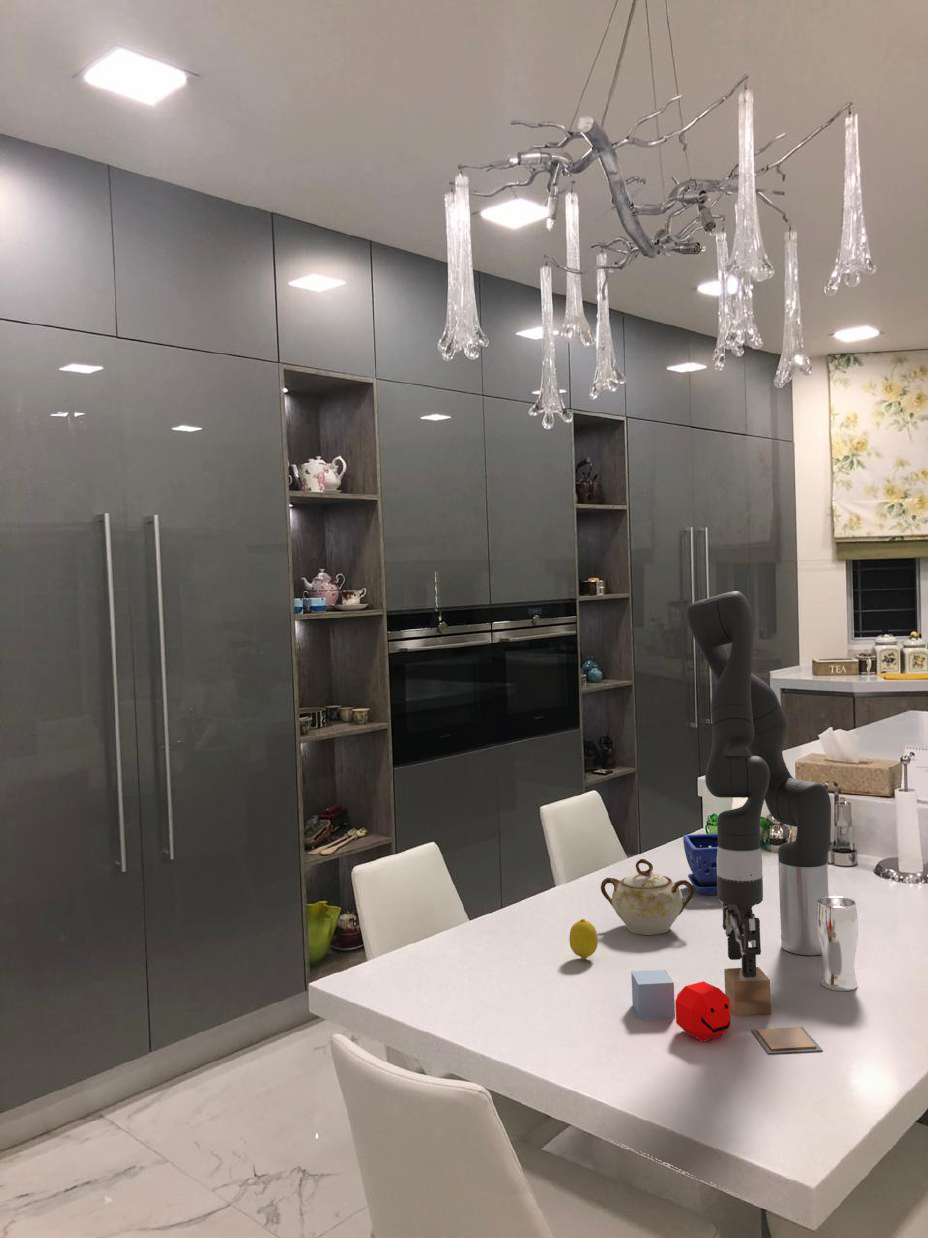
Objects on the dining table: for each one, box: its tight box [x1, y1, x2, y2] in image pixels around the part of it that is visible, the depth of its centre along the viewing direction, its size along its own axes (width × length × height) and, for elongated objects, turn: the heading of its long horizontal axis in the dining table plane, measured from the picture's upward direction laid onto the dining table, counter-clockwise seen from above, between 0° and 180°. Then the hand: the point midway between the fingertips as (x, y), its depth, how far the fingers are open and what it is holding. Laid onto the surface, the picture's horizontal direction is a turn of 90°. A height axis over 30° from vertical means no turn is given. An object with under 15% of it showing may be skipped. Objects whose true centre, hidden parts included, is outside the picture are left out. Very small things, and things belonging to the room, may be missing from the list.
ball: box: [674, 980, 732, 1043], centre depth 163 cm, size 8×8×8 cm
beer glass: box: [817, 895, 859, 992], centre depth 181 cm, size 7×7×15 cm
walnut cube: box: [723, 966, 772, 1018], centre depth 172 cm, size 6×6×6 cm
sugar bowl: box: [600, 858, 695, 936], centre depth 215 cm, size 20×15×15 cm
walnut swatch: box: [750, 1026, 824, 1055], centre depth 160 cm, size 8×8×1 cm
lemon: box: [568, 918, 599, 960], centre depth 199 cm, size 6×6×8 cm
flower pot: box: [682, 833, 718, 896], centre depth 242 cm, size 13×13×12 cm
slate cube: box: [630, 969, 676, 1020], centre depth 173 cm, size 6×6×6 cm
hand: (741, 967), depth 173 cm, fingers open, 8 cm apart
